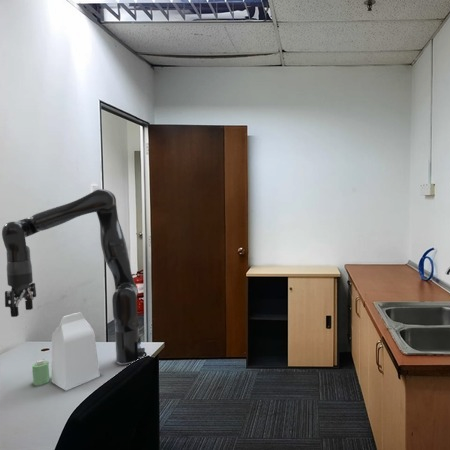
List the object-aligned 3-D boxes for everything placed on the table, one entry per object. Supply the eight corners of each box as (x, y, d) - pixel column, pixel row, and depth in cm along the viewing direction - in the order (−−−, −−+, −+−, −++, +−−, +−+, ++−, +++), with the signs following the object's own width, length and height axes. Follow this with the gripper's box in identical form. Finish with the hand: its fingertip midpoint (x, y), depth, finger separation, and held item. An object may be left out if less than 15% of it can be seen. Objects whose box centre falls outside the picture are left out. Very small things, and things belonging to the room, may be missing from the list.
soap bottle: (52, 379, 131) (51, 358, 130) (39, 386, 126) (38, 364, 126) (43, 377, 132) (42, 357, 132) (30, 384, 128) (28, 362, 127)
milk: (65, 390, 123) (61, 321, 121) (51, 382, 129) (47, 316, 127) (99, 376, 133) (96, 312, 131) (85, 368, 139) (81, 307, 138)
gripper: (18, 275, 124) (20, 318, 125) (41, 268, 138) (43, 306, 139) (-5, 276, 123) (-2, 319, 124) (21, 269, 137) (23, 307, 138)
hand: (22, 312), depth 131 cm, fingers open, 8 cm apart
